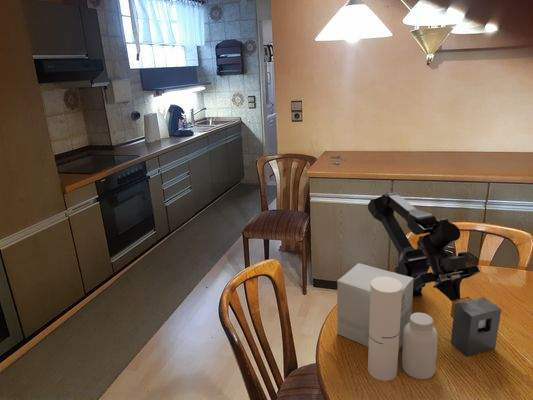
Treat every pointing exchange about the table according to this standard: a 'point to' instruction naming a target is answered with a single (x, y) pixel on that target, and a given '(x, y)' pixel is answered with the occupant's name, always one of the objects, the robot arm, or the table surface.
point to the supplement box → (366, 302)
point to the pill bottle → (419, 346)
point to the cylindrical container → (384, 327)
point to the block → (475, 326)
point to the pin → (482, 322)
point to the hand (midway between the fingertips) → (458, 305)
